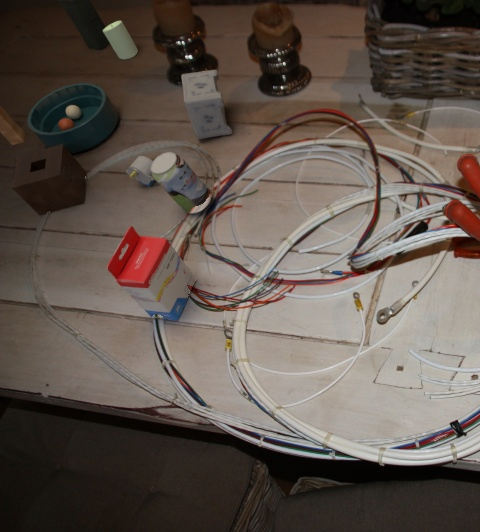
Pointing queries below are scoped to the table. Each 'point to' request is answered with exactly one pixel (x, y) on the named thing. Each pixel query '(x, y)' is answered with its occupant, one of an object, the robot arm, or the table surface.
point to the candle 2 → (120, 40)
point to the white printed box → (205, 104)
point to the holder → (49, 179)
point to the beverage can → (179, 181)
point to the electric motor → (141, 170)
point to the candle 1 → (87, 22)
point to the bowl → (86, 127)
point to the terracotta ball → (66, 124)
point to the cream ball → (73, 112)
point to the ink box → (152, 274)
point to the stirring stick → (10, 128)
